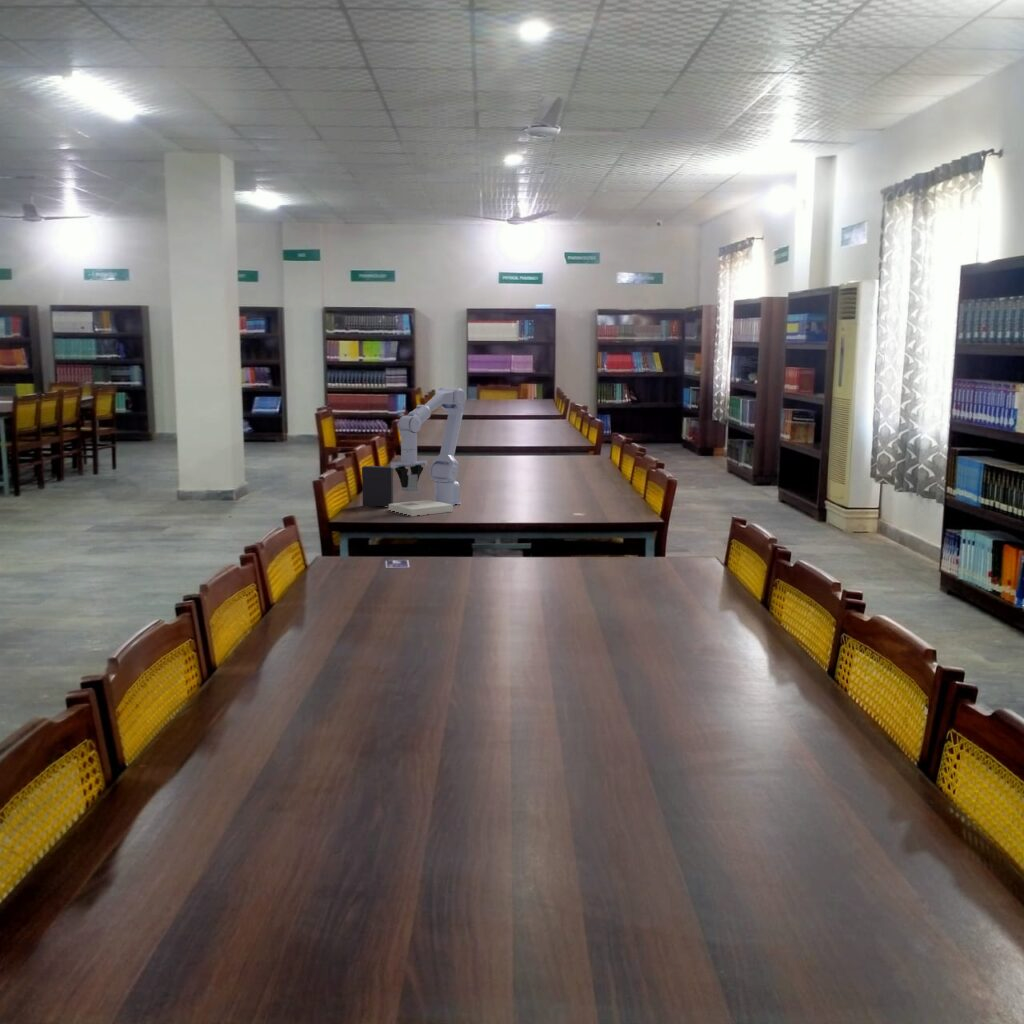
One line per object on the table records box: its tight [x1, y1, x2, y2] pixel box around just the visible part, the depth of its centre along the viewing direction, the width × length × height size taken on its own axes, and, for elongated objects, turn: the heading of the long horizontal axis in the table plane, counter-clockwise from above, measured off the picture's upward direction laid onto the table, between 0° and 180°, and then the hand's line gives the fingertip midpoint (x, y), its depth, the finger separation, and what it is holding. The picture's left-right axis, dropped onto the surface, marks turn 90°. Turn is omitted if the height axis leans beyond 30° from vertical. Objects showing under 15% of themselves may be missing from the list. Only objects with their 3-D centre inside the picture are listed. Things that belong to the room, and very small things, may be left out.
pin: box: [401, 472, 419, 493], centre depth 351 cm, size 4×4×6 cm
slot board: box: [388, 499, 454, 517], centre depth 352 cm, size 18×15×2 cm
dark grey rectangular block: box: [361, 465, 394, 508], centre depth 360 cm, size 11×4×15 cm, turn 84°
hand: (409, 486), depth 351 cm, fingers closed on pin, 4 cm apart
